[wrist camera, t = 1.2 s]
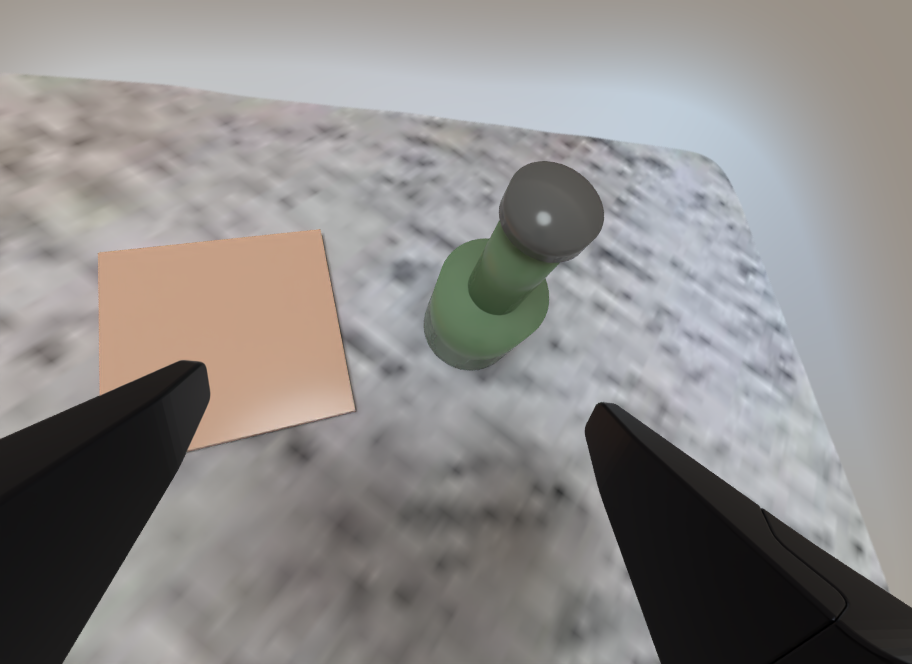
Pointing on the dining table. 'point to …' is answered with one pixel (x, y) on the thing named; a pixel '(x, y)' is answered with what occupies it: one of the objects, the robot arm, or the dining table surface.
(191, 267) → the tile
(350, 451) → the dining table surface
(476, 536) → the dining table surface
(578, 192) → the bottle
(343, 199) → the dining table surface
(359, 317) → the dining table surface
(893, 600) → the robot arm
